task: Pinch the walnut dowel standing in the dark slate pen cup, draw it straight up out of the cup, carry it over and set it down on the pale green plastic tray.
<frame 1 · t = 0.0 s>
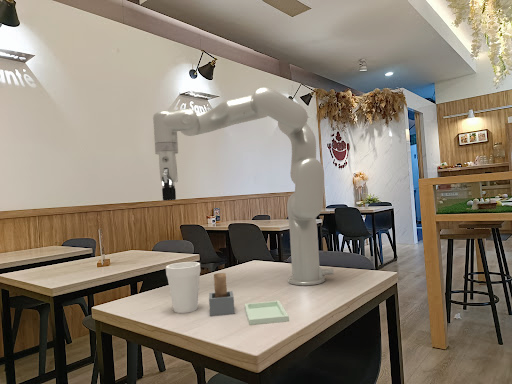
hand: (169, 200, 129), 31 cm above the table, fingers open, 9 cm apart
pen cup: (222, 313, 103), on the table
foam cup: (186, 312, 107), on the table
dowel: (222, 311, 103), point 1 cm above the table, touching pen cup
tray: (265, 316, 99), on the table
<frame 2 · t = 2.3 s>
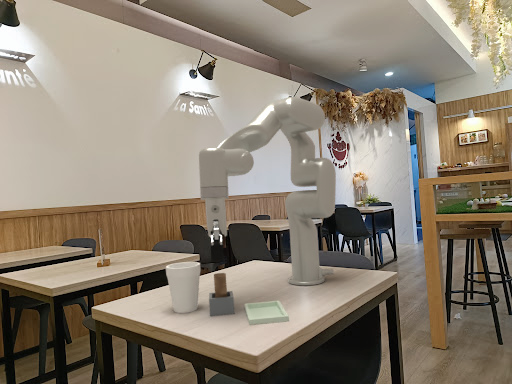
hand: (217, 257, 103), 15 cm above the table, fingers open, 9 cm apart
nothing on the table moved.
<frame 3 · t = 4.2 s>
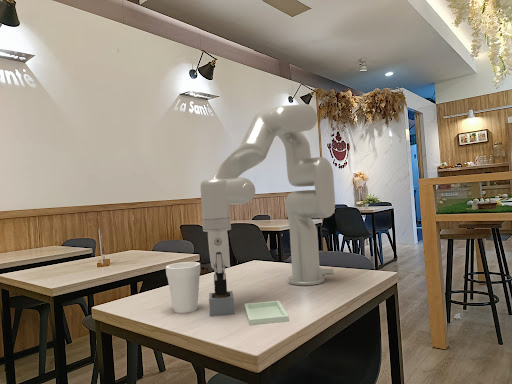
hand: (220, 292, 103), 6 cm above the table, fingers closed on dowel, 3 cm apart
dowel: (222, 311, 103), point 1 cm above the table, touching gripper, pen cup
everything else where it was.
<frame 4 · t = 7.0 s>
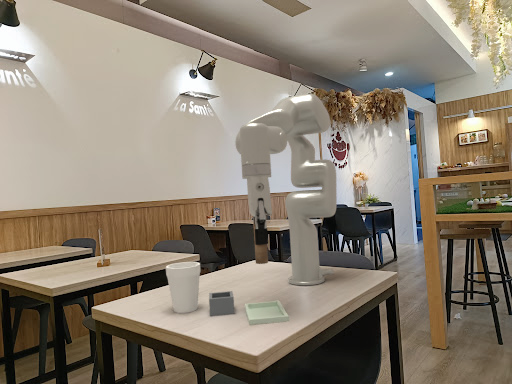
hand: (260, 242, 99), 19 cm above the table, fingers closed on dowel, 3 cm apart
dowel: (261, 262, 99), point 14 cm above the table, touching gripper
everything else where it was.
when the fingers open (6 cm above the table, at t = 9.9 s): dowel stays where it is, resting on tray.
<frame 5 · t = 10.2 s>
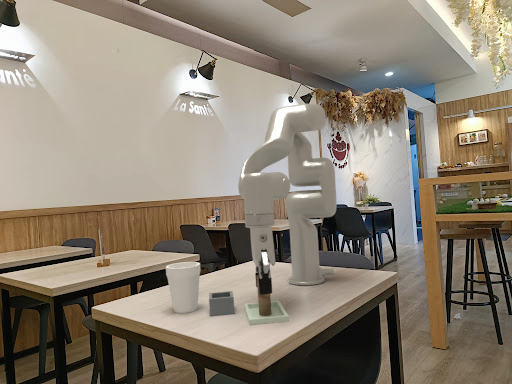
hand: (263, 289, 99), 7 cm above the table, fingers open, 6 cm apart
dowel: (265, 314, 99), point 1 cm above the table, touching tray
everything else where it was.
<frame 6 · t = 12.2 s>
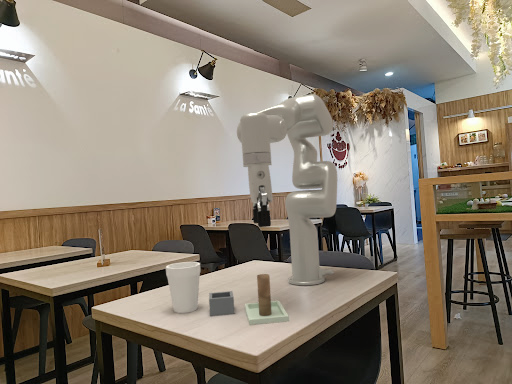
hand: (261, 224, 102), 23 cm above the table, fingers open, 9 cm apart
nothing on the table moved.
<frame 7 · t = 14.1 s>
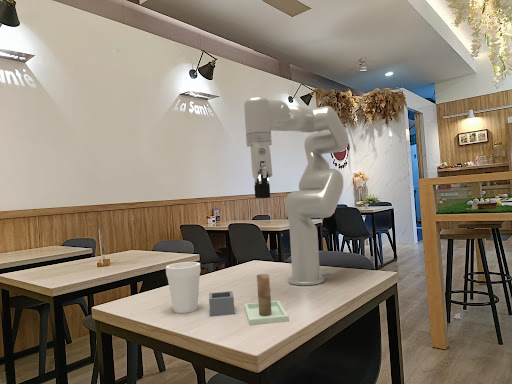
hand: (262, 197, 114), 30 cm above the table, fingers open, 9 cm apart
nothing on the table moved.
at the end: dowel inside the target area on the tray (0.1 cm from its centre), point 0.6 cm above the tray's base; dowel touching tray; the gripper is holding nothing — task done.
